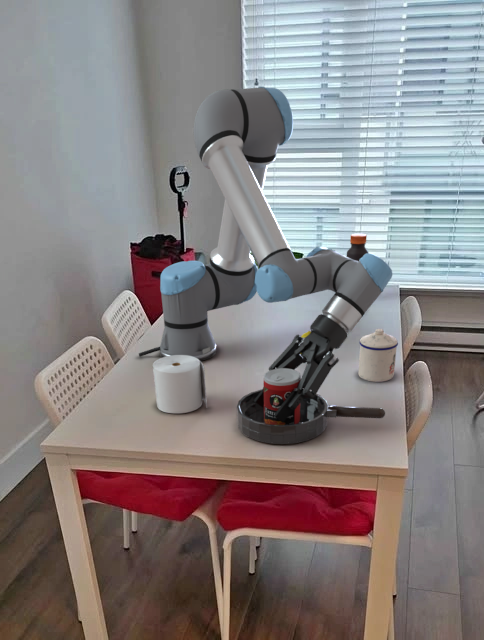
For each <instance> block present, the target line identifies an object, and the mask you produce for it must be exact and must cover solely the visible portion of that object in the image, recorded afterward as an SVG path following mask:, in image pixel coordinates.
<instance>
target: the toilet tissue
mask: <svg viewBox="0 0 484 640" xmlns="http://www.w3.org/2000/svg"><path fill="white" fill-rule="evenodd" d="M152 373H153V383H154V392H155V400H156V401H155V402H156V407H157V408H158V410H159V411H162V412H163V413H168V414H185V413H191V412H193V411H196V410H198V409H199V408H200V407H202V405H203V402H204V403H205V406H206V407H208V401H207V388H206V373H205V366H204V363H203V361H200V360H198V359H197V358H195V357H192V356H188V355H172V356H167V357H163V358H162V357H159V358H158V359H156V360H154V362H153V363H152Z"/></svg>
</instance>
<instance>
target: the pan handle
mask: <svg viewBox="0 0 484 640" xmlns="http://www.w3.org/2000/svg"><path fill="white" fill-rule="evenodd" d="M385 416H386V410H385V409H384V408H382V407H364V406H340V405H337V404H336V405H335V404H328V408H327V418H329V419H330V418H331V419H332V418H333V419H334V418H335V419H336V418H354V419H355V418H356V419H379V420H380V419H383V418H384V417H385Z"/></svg>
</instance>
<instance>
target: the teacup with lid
mask: <svg viewBox="0 0 484 640" xmlns="http://www.w3.org/2000/svg"><path fill="white" fill-rule="evenodd" d="M358 343H359V357H358V358H359V359H358V373H357V374H358V376H359V378H361V379H362V380H364V381H369V382H373V383H381V382H382V383H383V382H387V381H389V380H392V379H393V378H394V376H395V366H396V357H397V346H398V345H399V343H398V340H397V338H396V337H395V336H393V335H390V334H387V333H386V332H385V331H384V329H382V328H377V329H375V330H374V332H372V333H369V334H365V335H363V336H361V338H360V340H359V342H358Z"/></svg>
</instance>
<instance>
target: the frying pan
mask: <svg viewBox="0 0 484 640" xmlns="http://www.w3.org/2000/svg"><path fill="white" fill-rule="evenodd" d="M262 389H263V388H262ZM262 389H258V390H255V391H252V392H249V393H247V394H246V395H244V396H242V397H241V398H240V399H239V400H238V401H237V404H236V423H237V428H238V430H239V431H240V432H241V433H242V434H243V435H244V436H246V437H247V438H249V439H252V440H255V441H257V442H261V443H266V444H275V445H290V444H298V443H302V442H307V441H310V440H312V439H315V438H316V437H318V436H320V435H321V434H322V433H324V431H325V430H326V429H327V427H328V417H327V408H328V405H329V404H328V401H327V400H326V399H325V398H324V397H323V396H321V395H320V394H318V393H316V395H315V397H314V398H313V399H310V398H304V399H303V400H302V401H301V403H300V421H299V423H298V424H290V425H271V424H265V421H264V408H262V407H261V406H260V405H259V404H257V403H256V402H255V401H254V400H255V398H256V397H257V396H258V394H259V393H260V392H261V390H262Z"/></svg>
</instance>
